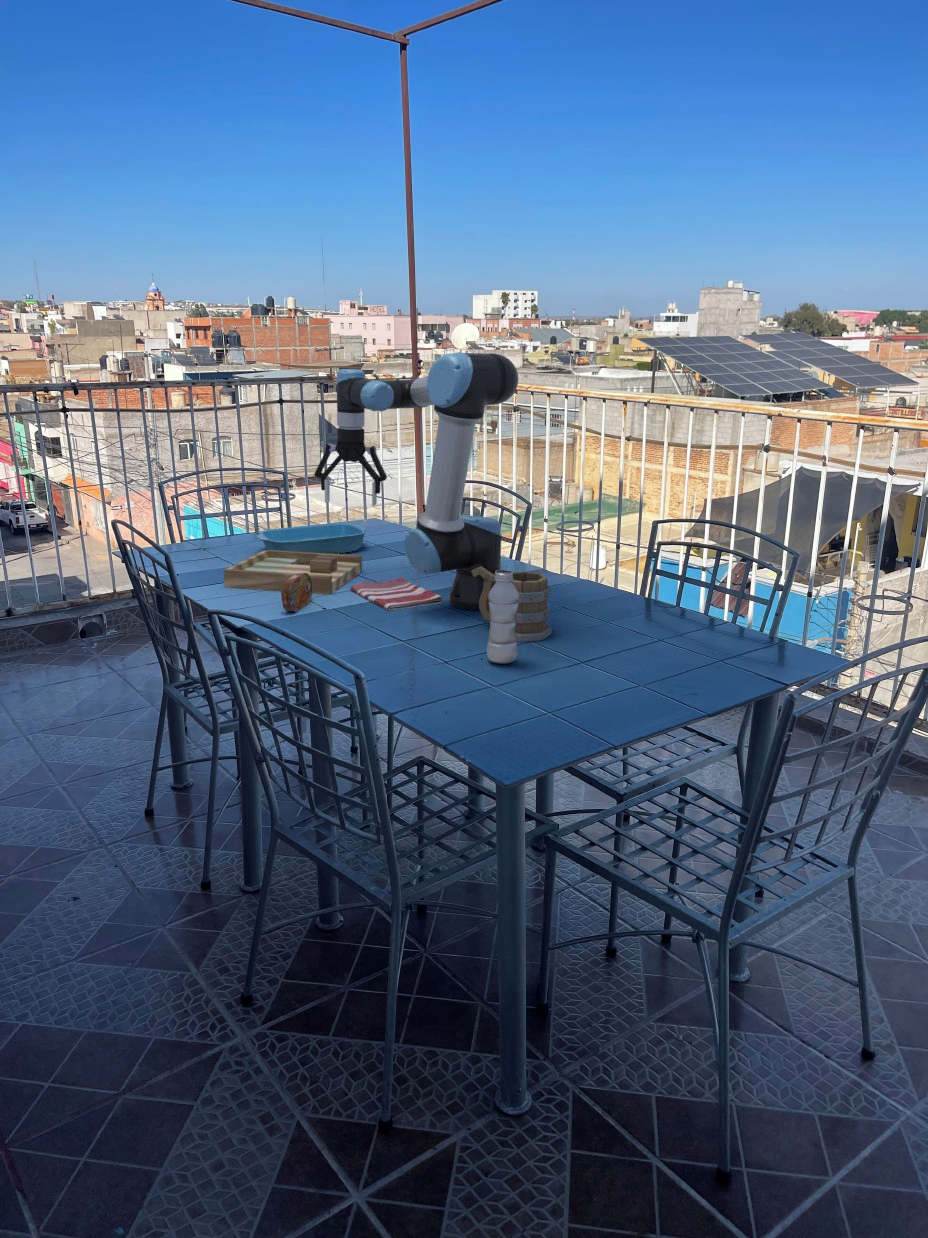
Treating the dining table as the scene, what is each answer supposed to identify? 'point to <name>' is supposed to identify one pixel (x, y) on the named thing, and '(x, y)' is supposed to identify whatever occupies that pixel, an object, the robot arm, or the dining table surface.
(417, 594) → the dish towel
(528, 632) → the tankard
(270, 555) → the box
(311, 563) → the walnut block
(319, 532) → the casserole dish
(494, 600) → the plastic bottle
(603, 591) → the dining table surface
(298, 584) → the tin
